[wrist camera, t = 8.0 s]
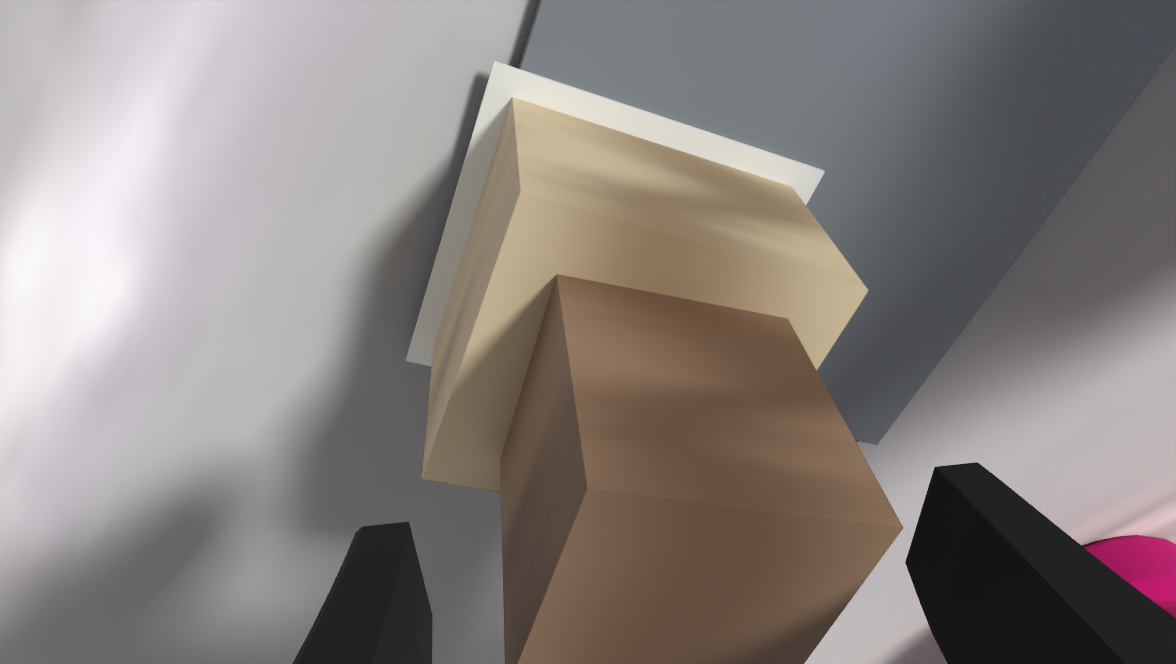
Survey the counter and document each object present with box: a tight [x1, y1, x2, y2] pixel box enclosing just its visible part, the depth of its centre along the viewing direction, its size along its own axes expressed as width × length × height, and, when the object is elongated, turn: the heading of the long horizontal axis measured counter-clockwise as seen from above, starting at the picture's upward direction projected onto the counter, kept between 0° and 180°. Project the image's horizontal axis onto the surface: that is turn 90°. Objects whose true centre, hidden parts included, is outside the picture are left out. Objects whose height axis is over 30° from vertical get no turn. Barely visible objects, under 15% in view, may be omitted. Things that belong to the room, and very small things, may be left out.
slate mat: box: [406, 0, 1176, 445], centre depth 16 cm, size 12×14×1 cm
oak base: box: [422, 97, 869, 493], centre depth 15 cm, size 6×6×4 cm
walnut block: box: [500, 274, 903, 664], centre depth 12 cm, size 4×4×4 cm
